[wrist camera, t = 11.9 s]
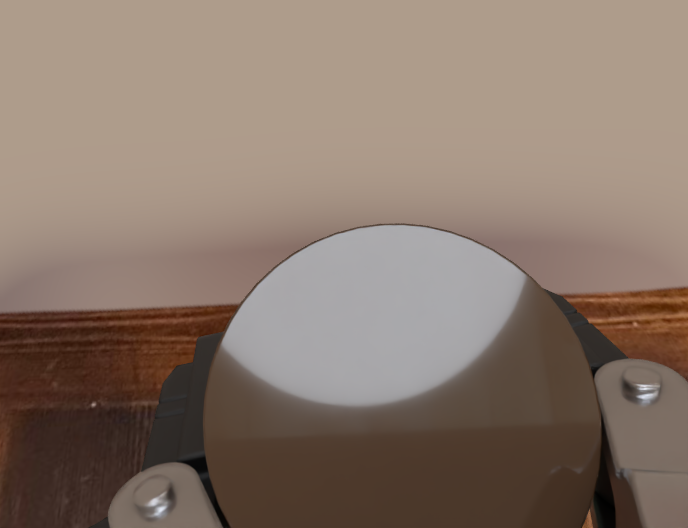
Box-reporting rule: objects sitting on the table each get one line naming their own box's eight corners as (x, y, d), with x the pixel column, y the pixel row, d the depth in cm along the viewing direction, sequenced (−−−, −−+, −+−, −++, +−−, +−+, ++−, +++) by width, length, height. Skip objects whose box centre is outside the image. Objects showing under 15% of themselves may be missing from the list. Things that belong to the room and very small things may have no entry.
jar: (344, 310, 17) (341, 162, 8) (496, 405, 16) (666, 344, 8) (243, 462, 15) (117, 469, 7) (404, 577, 14) (486, 746, 6)
